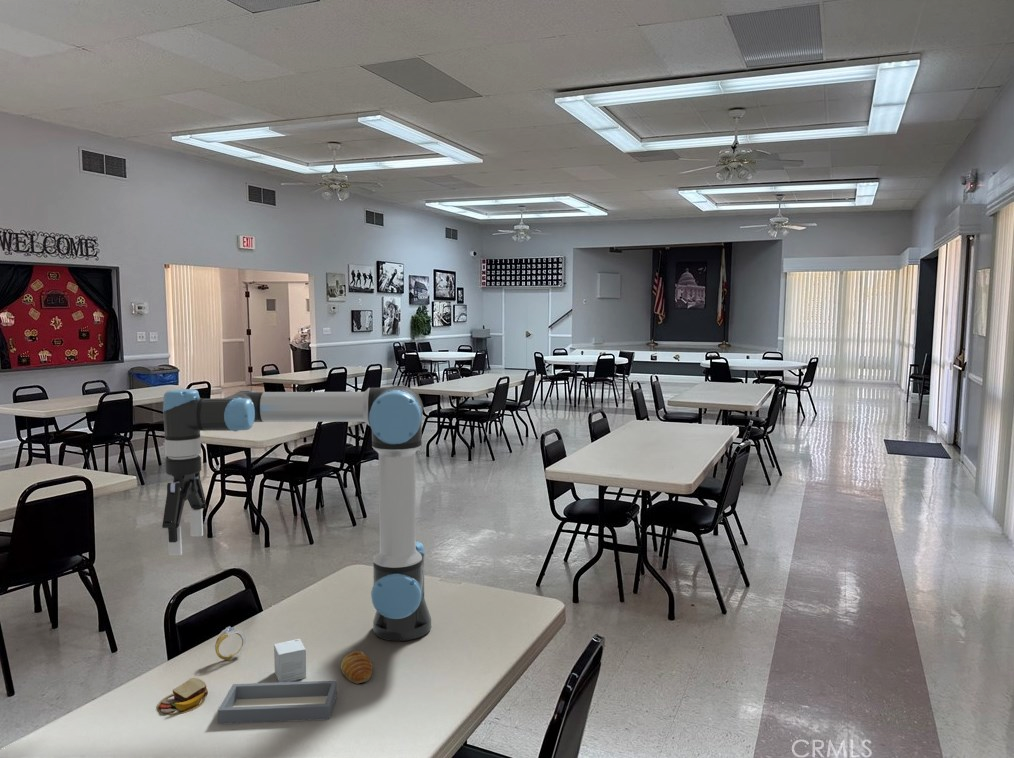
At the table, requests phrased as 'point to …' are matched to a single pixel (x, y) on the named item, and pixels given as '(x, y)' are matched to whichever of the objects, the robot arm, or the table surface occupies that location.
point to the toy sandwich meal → (184, 697)
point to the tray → (278, 702)
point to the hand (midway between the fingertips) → (186, 545)
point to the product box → (290, 660)
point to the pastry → (357, 667)
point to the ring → (227, 632)
